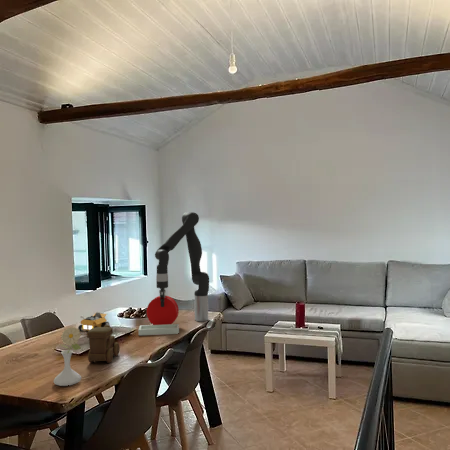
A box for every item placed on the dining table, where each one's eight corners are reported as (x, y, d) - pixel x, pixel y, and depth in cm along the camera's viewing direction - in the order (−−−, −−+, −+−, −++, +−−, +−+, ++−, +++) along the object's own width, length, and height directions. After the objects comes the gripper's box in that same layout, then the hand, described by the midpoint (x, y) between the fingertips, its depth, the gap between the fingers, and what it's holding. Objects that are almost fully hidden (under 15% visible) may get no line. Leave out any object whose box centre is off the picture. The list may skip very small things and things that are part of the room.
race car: (76, 332, 277) (76, 315, 277) (92, 326, 291) (91, 310, 291) (96, 334, 272) (95, 317, 272) (111, 328, 286) (110, 312, 286)
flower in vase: (47, 386, 188) (46, 328, 187) (66, 377, 198) (65, 322, 198) (72, 390, 183) (71, 330, 183) (90, 380, 194) (89, 324, 193)
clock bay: (139, 331, 277) (139, 325, 277) (178, 329, 280) (178, 323, 280) (138, 335, 267) (138, 329, 267) (179, 333, 270) (179, 328, 270)
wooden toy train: (108, 366, 212) (107, 332, 212) (85, 366, 213) (84, 331, 213) (121, 353, 232) (120, 322, 232) (100, 353, 233) (99, 322, 233)
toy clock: (178, 325, 289) (178, 295, 289) (177, 327, 284) (176, 297, 283) (149, 325, 291) (148, 295, 291) (146, 327, 286) (146, 296, 285)
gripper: (167, 281, 280) (168, 307, 281) (168, 278, 294) (168, 303, 295) (155, 282, 279) (156, 308, 280) (156, 278, 294) (157, 303, 294)
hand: (162, 305), depth 287 cm, fingers closed on toy clock, 6 cm apart
